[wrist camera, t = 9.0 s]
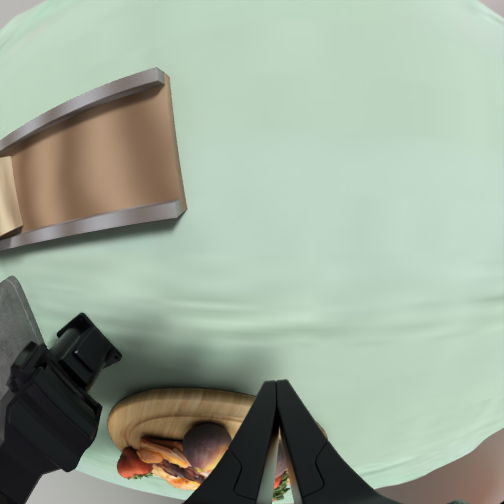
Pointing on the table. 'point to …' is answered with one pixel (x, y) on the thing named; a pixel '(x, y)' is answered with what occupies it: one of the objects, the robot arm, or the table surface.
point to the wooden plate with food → (182, 434)
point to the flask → (14, 327)
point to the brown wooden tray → (97, 162)
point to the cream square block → (8, 198)
